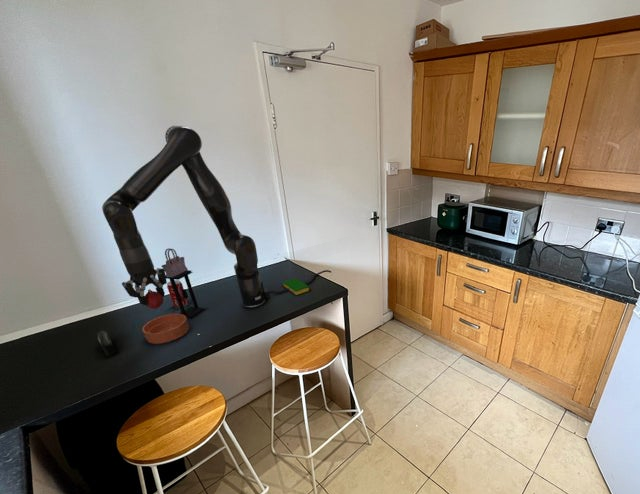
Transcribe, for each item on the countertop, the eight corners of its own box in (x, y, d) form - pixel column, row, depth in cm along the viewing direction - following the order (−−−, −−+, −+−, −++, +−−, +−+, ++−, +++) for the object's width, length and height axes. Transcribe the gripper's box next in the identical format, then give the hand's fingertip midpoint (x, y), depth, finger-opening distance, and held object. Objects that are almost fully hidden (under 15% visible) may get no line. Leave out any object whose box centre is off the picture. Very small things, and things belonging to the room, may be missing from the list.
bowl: (171, 321, 132) (167, 311, 130) (198, 327, 128) (194, 316, 126) (137, 341, 120) (132, 330, 117) (166, 347, 116) (161, 336, 114)
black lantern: (189, 320, 133) (165, 254, 120) (174, 318, 134) (149, 252, 121) (207, 307, 142) (187, 245, 129) (193, 306, 143) (172, 243, 130)
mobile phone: (112, 343, 111) (103, 326, 119) (101, 347, 109) (93, 329, 117) (118, 354, 113) (108, 337, 122) (107, 358, 111) (98, 340, 120)
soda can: (175, 309, 141) (166, 285, 135) (173, 304, 144) (165, 281, 139) (189, 305, 144) (181, 282, 139) (187, 301, 148) (179, 278, 142)
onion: (169, 306, 119) (162, 287, 116) (155, 313, 114) (147, 294, 111) (158, 303, 121) (151, 285, 117) (143, 311, 116) (135, 292, 112)
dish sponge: (296, 281, 166) (295, 277, 165) (309, 290, 157) (308, 286, 156) (283, 286, 162) (282, 281, 161) (296, 295, 153) (295, 290, 152)
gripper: (123, 267, 101) (142, 311, 109) (164, 252, 114) (178, 293, 121) (106, 265, 103) (126, 308, 111) (148, 250, 116) (164, 290, 123)
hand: (153, 300), depth 116 cm, fingers closed on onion, 5 cm apart
